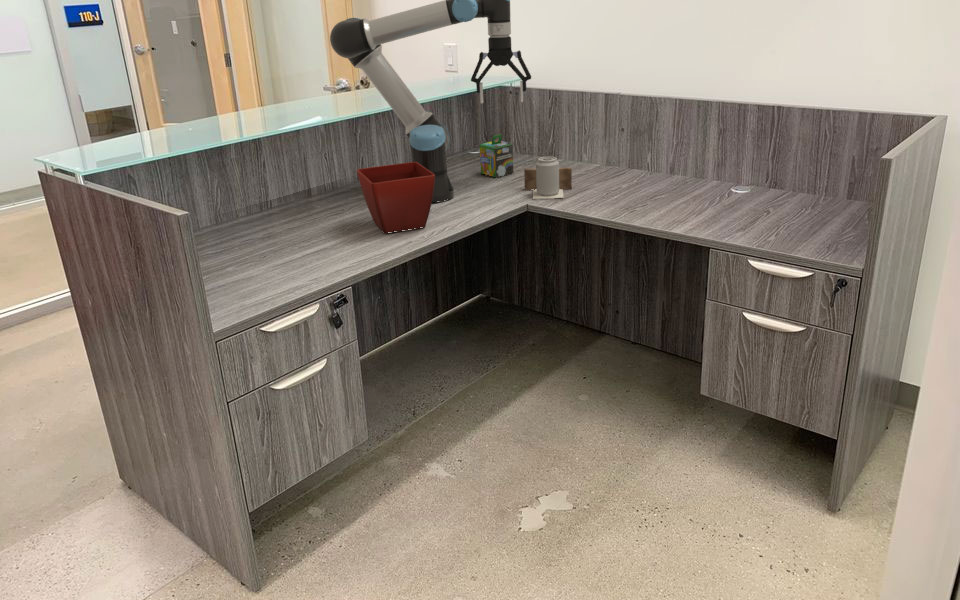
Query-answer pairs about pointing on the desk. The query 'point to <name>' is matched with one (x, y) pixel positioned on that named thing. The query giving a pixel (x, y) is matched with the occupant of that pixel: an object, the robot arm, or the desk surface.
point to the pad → (538, 196)
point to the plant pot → (398, 195)
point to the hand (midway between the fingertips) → (501, 102)
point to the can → (547, 176)
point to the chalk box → (496, 157)
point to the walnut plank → (564, 178)
